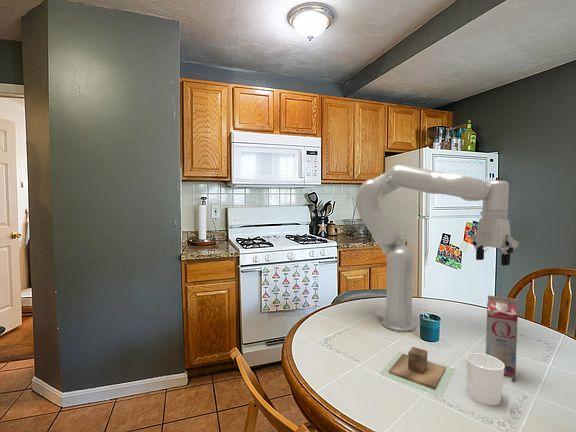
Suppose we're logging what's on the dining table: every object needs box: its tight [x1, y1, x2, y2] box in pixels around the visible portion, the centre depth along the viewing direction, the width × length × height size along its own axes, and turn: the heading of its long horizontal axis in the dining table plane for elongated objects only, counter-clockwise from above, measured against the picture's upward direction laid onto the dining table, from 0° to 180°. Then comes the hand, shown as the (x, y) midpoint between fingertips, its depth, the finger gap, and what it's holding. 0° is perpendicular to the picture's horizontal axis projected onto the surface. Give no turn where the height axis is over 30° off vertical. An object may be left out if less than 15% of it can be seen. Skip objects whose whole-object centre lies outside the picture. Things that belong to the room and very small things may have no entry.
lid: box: [389, 346, 446, 390], centre depth 85 cm, size 12×12×6 cm
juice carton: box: [485, 295, 519, 383], centre depth 86 cm, size 7×7×22 cm
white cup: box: [465, 352, 505, 406], centre depth 74 cm, size 8×8×10 cm
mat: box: [378, 351, 455, 398], centre depth 86 cm, size 16×16×1 cm
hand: (491, 262), depth 109 cm, fingers open, 9 cm apart
